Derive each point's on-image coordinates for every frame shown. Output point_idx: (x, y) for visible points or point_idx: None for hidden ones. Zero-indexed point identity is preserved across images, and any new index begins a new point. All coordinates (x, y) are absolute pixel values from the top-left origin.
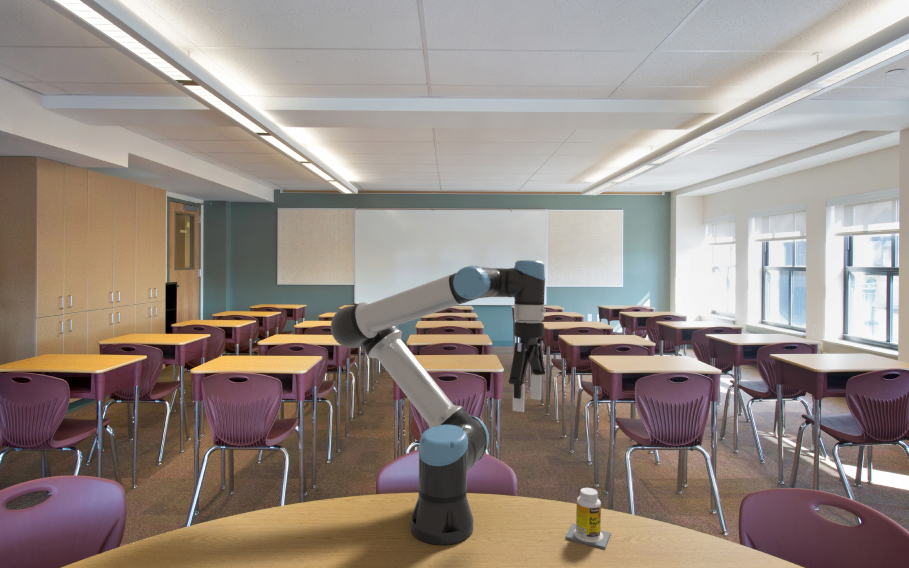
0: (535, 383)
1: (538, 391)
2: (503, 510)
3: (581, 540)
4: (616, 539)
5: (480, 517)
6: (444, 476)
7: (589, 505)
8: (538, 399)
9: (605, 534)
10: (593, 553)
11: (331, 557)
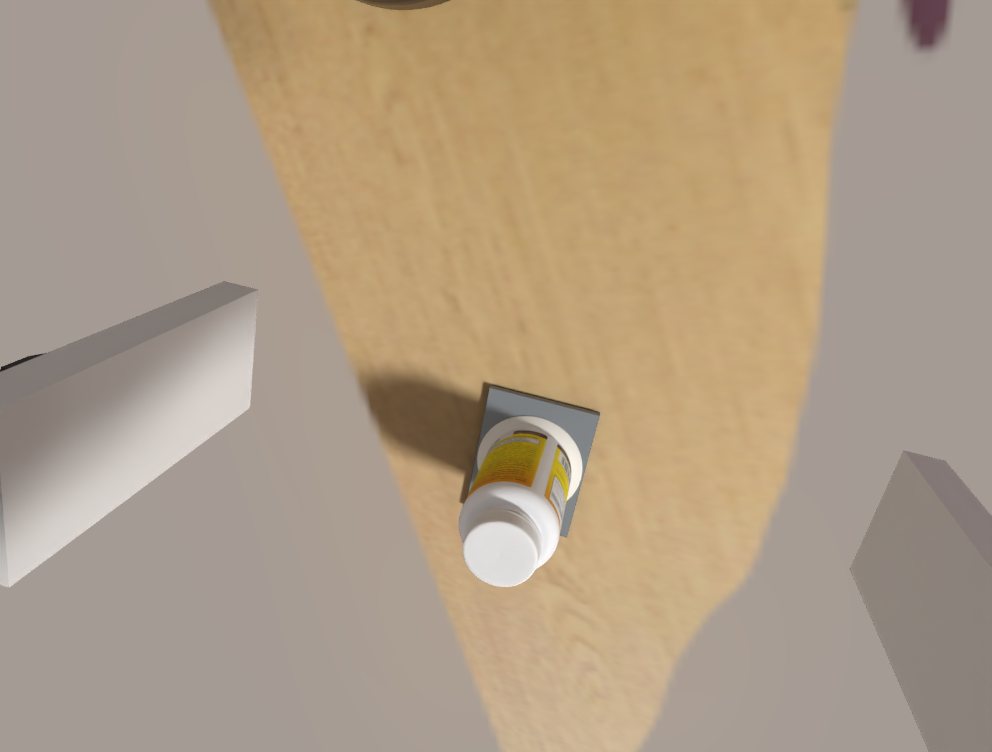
0: (963, 663)
1: (898, 617)
2: (659, 106)
3: (480, 440)
4: None
5: (557, 7)
6: None
7: (459, 530)
8: (863, 549)
9: None
10: (430, 468)
11: None
